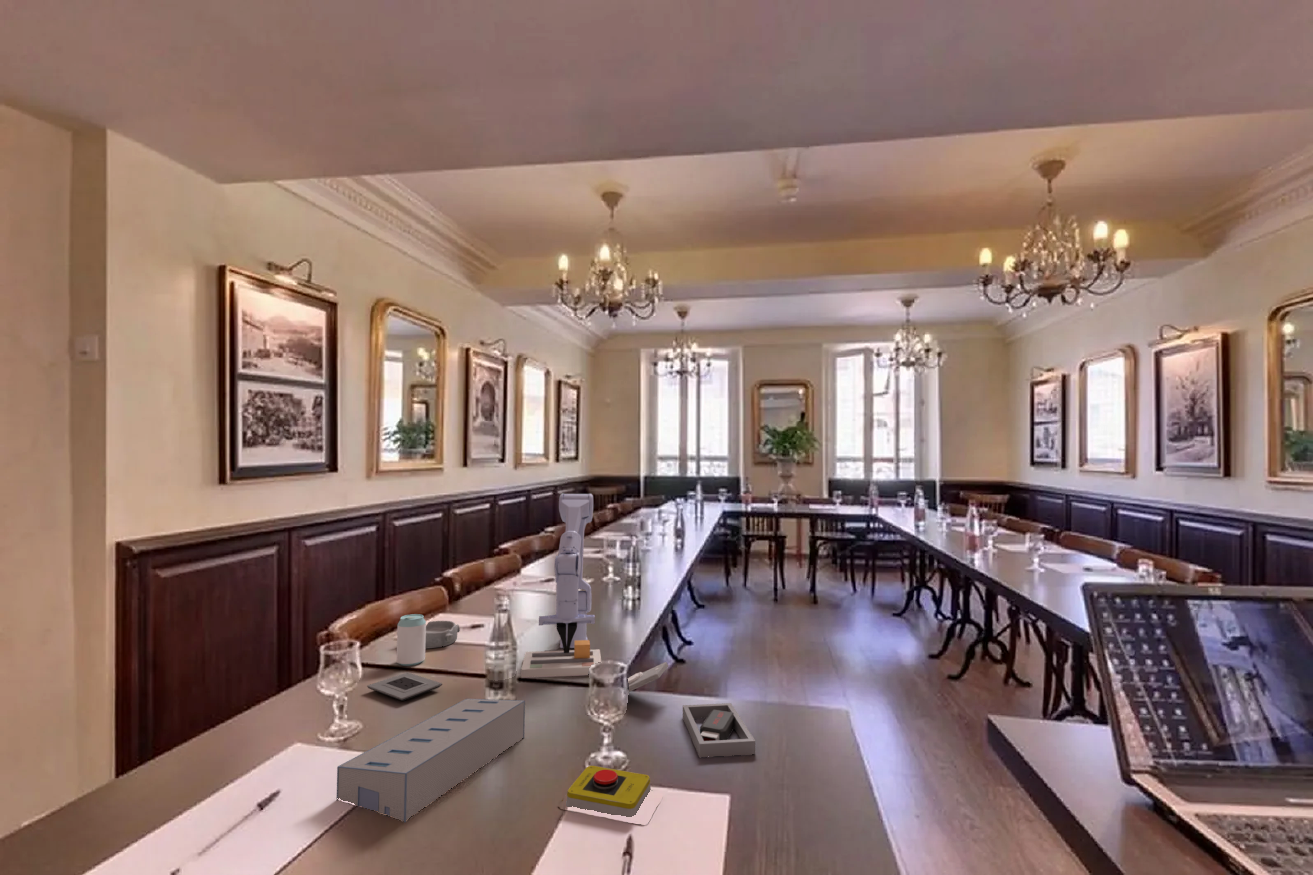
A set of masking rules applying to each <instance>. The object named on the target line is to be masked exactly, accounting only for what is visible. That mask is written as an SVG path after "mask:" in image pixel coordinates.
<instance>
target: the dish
mask: <svg viewBox="0 0 1313 875" xmlns="http://www.w3.org/2000/svg"><path fill="white" fill-rule="evenodd" d="M460 628H461V627H460V625H459V624H456V622H454V621H451V620H433V621H429V622H427V623H426V643H425V649H435V648H436V649H437V648H441V647H442V646H443V647H446V646H450V645H451V644H454V641H455V642H456V641H457V639H458V633H460V632H461V629H460Z"/></svg>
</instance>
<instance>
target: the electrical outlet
mask: <svg viewBox="0 0 1313 875" xmlns="http://www.w3.org/2000/svg"><path fill="white" fill-rule="evenodd" d="M442 685H443V683H442V682H438V681H436V680H433V679H431V678H426V677H424V676H420V675H417V674H414V673H412V672H409V671H407V672H404V673H401V674H398V675H395V676H392V677H389V678H387V679H383V680H380V681H377V682H374V683H372V684H368V685H366V687H367V688H368V689H370V690H371V691H375V692H377V693H380V694H382V695H385V696H388V697H390V698H392V699H396V700H398V701H401V702H403V701H407V700H409V699H412V698H415V697H417V696H420V695H423V694H426V693H428V692H431V691H434V690H436V689H439V688H440V687H441V686H442Z"/></svg>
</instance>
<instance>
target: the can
mask: <svg viewBox="0 0 1313 875" xmlns="http://www.w3.org/2000/svg"><path fill="white" fill-rule="evenodd" d="M426 625H427V621H426V619H425V617H424V615H423V614H418V613H414V614H413V613H412V614H405V615H402V616H401V617H400V619H399V621H398V623H397V632H396V637H397V638H396V663H397V664H399V665H400V666H406V667H407V666H416V665H419V664H421V663H422V662H423V661H425V659H426V648H425V643H426Z"/></svg>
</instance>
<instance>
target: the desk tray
mask: <svg viewBox="0 0 1313 875" xmlns="http://www.w3.org/2000/svg"><path fill="white" fill-rule="evenodd" d="M712 710H721V711H727V712H733V713H734V714H733V715H734V729H733V730H735V732H736V734H737V735H738V738H736V739H727V740H716V741H704V740H703V738H702V736H701V734H700V728H699V727H698V725H697V723H696V722H695V720H697V719H706V718H707V716H708V715H709V714H710V712H711V711H712ZM736 710H737V709H735V707H734V706H733V704H732V702H731V703H730V702H726V703H704V704H685V705H684V704H683V705H682V719H683V721H684V724H685V726H686V729H687V731H688V734H689V736H690V739H691V741H692V743H693V745H694V748H695V750H696V752H698V753H697V756H698V757H700V758H701V757H707V758H714V757H713V756H724V757H735V756H734V755H741V756H752V754H755V755H756V740H755V738H754V736H753V734H751V732H750V731H749V728H748V727H747V726H746V724H745V722H744V721H743V720H742V717H740V715H739V713H738V712H737V711H736ZM732 755H733V756H732ZM708 756H709V757H708ZM700 758H699V759H700ZM701 759H702V758H701Z"/></svg>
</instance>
